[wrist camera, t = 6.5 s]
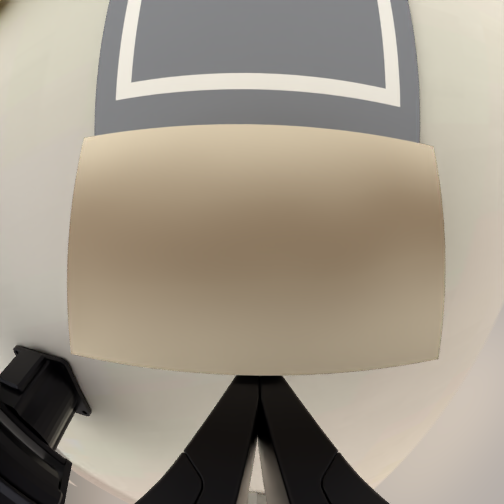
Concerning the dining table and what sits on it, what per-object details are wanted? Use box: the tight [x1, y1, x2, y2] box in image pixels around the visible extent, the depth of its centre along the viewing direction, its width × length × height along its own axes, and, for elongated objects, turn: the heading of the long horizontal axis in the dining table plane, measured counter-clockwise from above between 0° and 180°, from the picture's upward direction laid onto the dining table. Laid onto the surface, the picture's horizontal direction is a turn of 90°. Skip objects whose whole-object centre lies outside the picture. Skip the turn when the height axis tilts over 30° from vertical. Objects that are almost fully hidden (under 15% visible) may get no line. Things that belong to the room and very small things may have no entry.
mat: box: [95, 0, 420, 143], centre depth 12 cm, size 22×16×1 cm
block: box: [67, 124, 445, 376], centre depth 9 cm, size 6×10×6 cm, turn 89°
